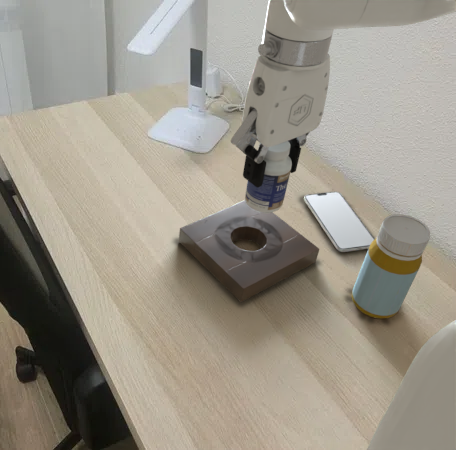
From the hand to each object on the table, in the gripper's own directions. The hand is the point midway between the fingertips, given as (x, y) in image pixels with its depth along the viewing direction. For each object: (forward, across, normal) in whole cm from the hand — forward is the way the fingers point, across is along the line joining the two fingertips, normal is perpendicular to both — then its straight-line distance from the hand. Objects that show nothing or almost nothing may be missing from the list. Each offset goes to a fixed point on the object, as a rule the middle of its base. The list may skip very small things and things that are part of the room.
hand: (269, 173), depth 75 cm
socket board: (+19, +3, +4) cm, 20 cm away
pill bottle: (+5, 0, 0) cm, 5 cm away
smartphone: (+19, +22, +1) cm, 29 cm away
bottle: (+20, +12, -15) cm, 27 cm away
